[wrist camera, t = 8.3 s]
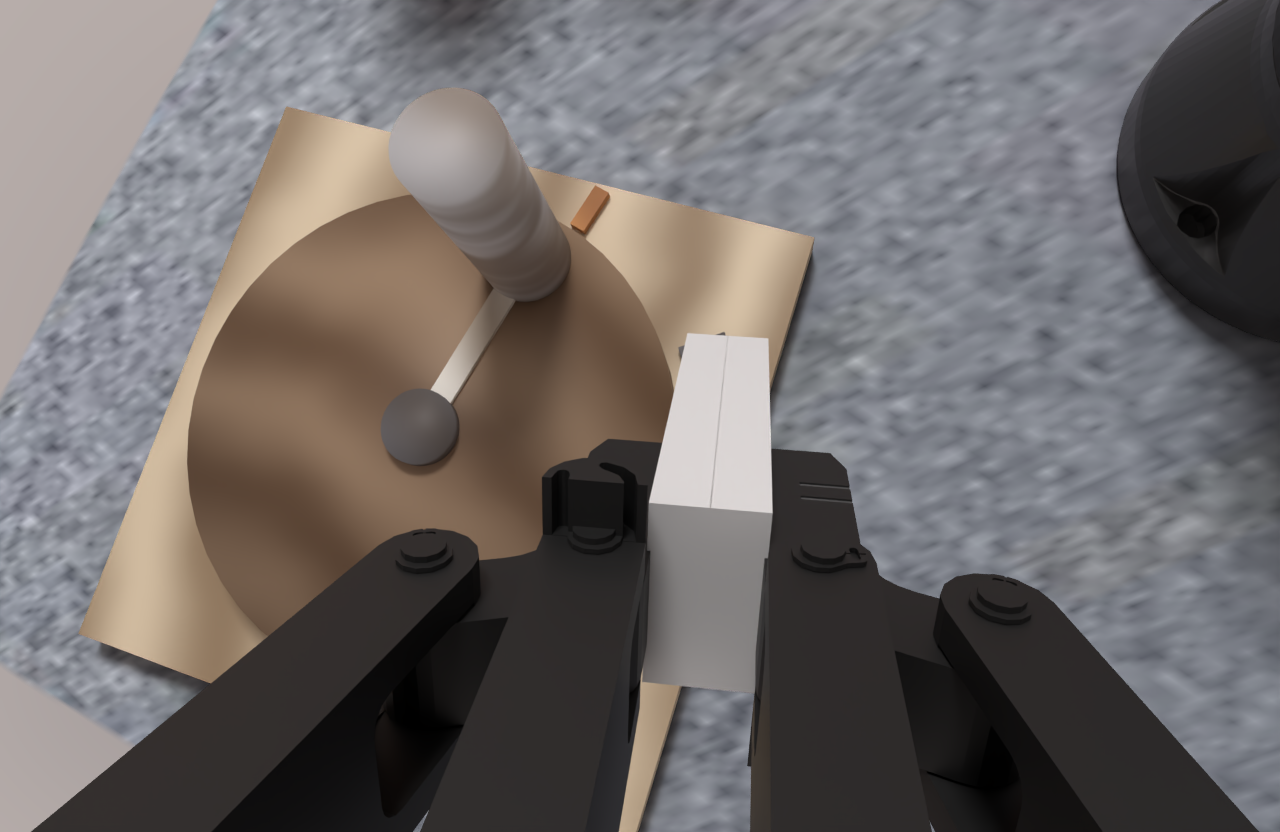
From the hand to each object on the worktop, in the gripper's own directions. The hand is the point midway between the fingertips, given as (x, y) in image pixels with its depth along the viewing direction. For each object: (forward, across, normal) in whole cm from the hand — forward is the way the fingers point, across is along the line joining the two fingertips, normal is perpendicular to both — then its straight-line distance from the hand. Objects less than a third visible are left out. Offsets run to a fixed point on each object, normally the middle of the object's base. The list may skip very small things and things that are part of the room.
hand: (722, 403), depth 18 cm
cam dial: (+18, -12, -10) cm, 23 cm away
